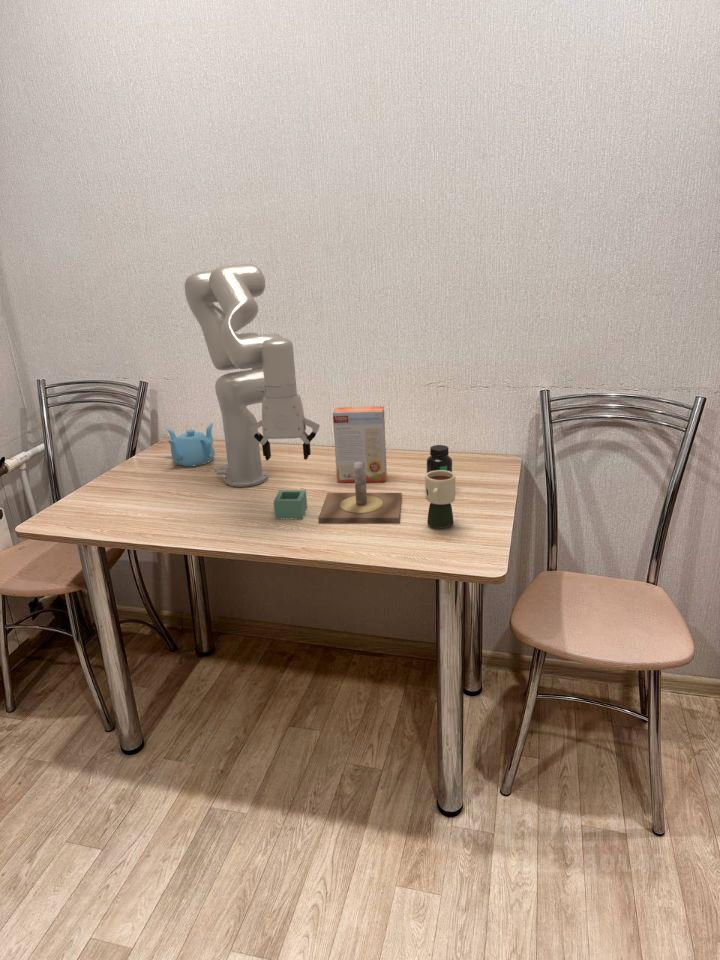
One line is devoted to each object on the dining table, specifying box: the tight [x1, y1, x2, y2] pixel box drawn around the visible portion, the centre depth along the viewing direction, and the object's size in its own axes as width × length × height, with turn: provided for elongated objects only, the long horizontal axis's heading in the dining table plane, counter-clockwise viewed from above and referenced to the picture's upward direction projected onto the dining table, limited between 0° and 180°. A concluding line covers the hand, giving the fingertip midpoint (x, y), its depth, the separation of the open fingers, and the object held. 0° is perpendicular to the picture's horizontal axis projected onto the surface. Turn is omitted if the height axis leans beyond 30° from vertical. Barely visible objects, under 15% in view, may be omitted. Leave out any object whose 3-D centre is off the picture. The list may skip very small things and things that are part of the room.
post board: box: [318, 461, 403, 524], centre depth 176 cm, size 20×16×13 cm
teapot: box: [165, 422, 216, 467], centre depth 218 cm, size 15×15×10 cm
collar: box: [273, 489, 308, 520], centre depth 177 cm, size 7×7×5 cm
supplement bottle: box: [426, 444, 453, 473], centre depth 187 cm, size 7×7×12 cm
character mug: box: [424, 470, 456, 529], centre depth 165 cm, size 11×7×13 cm, turn 159°
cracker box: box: [332, 405, 388, 483], centre depth 195 cm, size 14×6×21 cm, turn 84°
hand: (287, 458), depth 172 cm, fingers open, 9 cm apart
